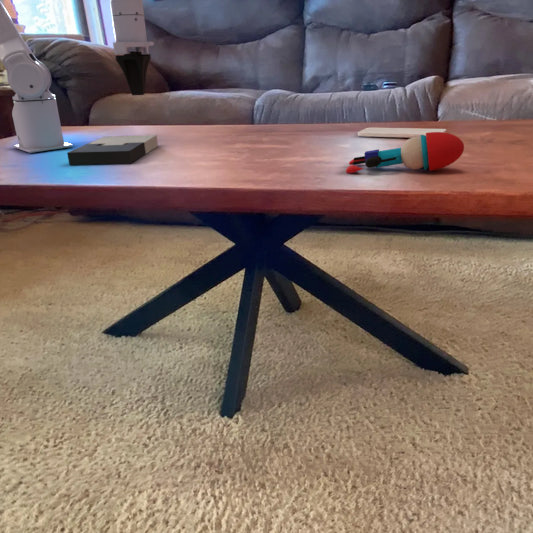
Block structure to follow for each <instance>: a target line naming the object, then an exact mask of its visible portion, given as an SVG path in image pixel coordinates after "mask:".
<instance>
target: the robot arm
mask: <svg viewBox="0 0 533 533" xmlns="http://www.w3.org/2000/svg"><path fill="white" fill-rule="evenodd" d="M109 6H110V12H111V20H112V27H113V34H114V40H115V41H114V42H113V41H112V47H113V53H114V55H115V61H116V63H117V65H119V67H120V69H121V70H122V72H123V75H124V77H125V80H126V82H127V85H128V88H129V91H130V93H131V95H132V96H144V95H145V94H146V93H145V92H146V84H147V83H146V80H147V72H148V68H149V65H150V61H151V53H150V50H149V49H150V48H149V47H154V46H155V42H154V41H148V38H147V37H148V36H147V29H146V19H145V11H144V4H143V0H109ZM0 61H1V63H2V65H3V66H4V67H5V71H6V79H7V83H8V85H9V88H11V90H12V91H13V92H14V93H15V94H14V95H13V96H12V97H11V98H12V101H13V107H12V111H11V115H12V120H13V125H14V130H15V135H16V138H17V144H13V148H14V149H18V150H20V151H23V152H26V153H29V154H32V153H38V152H45V151H53V150H59V149H66V148H72V147H73V144H72V143H69V142H65V140H64V136H63V130H62V129H63V128H62V124H61V119H60V113H59V109H58V104H57V98H56V94H53V93H52V92H51V91H50V90H49V89H50V88H51V85H52V74H51V72H50V69H49V68H48V67H47V66H46V65H45V64H44V63H43V62H41V61H40V60H38V58H37V57H36V55H35V53H33V51H32V49H31V48H30V47H29V45H28V44H27V42H26V41H25V40H24V38H23V36H22V34H21V33H20V31H19V29H18V28H17V26H16V25H15V22H14V21H13V19H12V17H11V16H10V14H9V12H8V10H7V9H6V7H5V6H4V4H3V2H2V0H0Z"/></svg>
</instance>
